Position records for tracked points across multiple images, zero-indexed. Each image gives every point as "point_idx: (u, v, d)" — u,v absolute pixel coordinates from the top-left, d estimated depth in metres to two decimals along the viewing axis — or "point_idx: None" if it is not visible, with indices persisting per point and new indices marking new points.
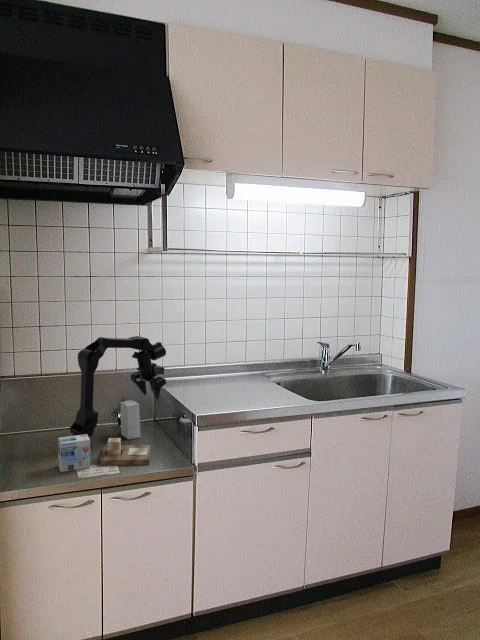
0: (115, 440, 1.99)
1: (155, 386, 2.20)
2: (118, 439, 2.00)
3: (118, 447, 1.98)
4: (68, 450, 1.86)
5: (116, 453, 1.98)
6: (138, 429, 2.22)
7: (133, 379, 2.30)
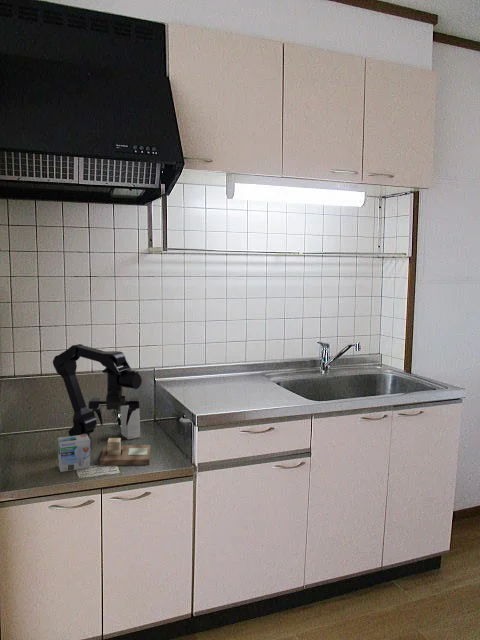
0: (115, 440, 1.99)
1: None
2: (118, 439, 2.00)
3: (118, 447, 1.98)
4: (68, 450, 1.86)
5: (116, 453, 1.98)
6: (138, 429, 2.22)
7: None
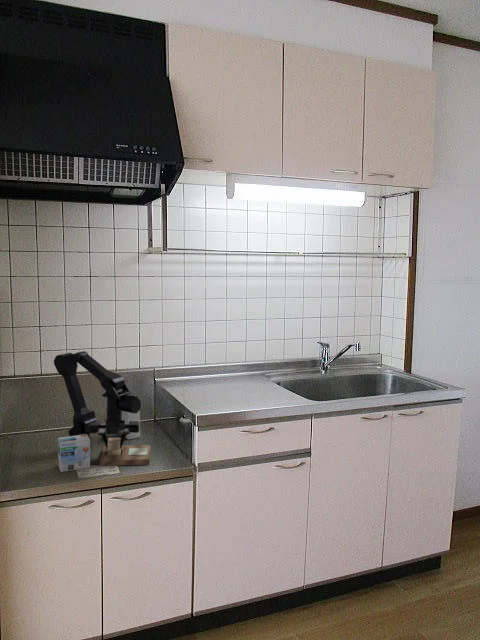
0: (115, 440, 1.99)
1: None
2: (118, 439, 2.00)
3: (118, 447, 1.98)
4: (68, 450, 1.86)
5: (116, 453, 1.98)
6: None
7: None
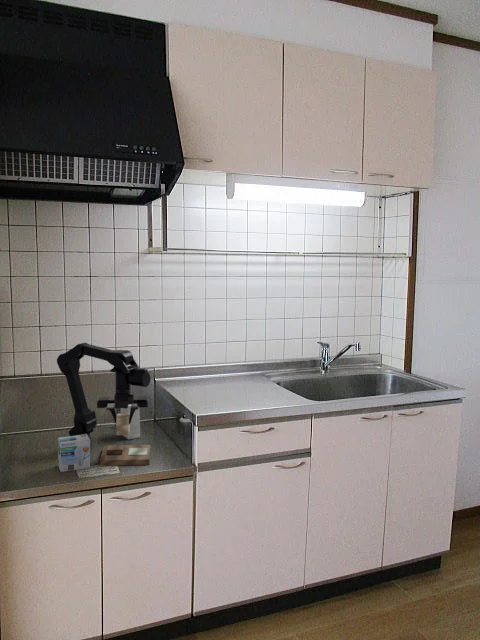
0: (124, 415, 1.98)
1: None
2: (127, 414, 1.99)
3: (127, 422, 1.97)
4: (68, 450, 1.86)
5: (125, 428, 1.97)
6: (138, 429, 2.22)
7: None
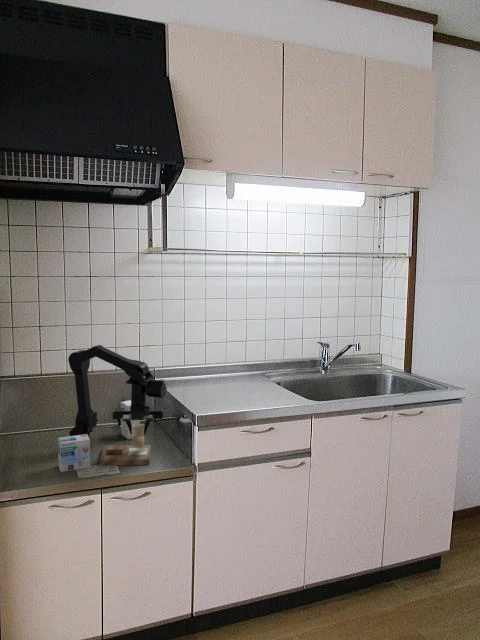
0: (139, 426, 2.00)
1: None
2: (142, 425, 2.01)
3: (142, 433, 1.98)
4: (68, 450, 1.86)
5: (140, 439, 1.99)
6: None
7: None
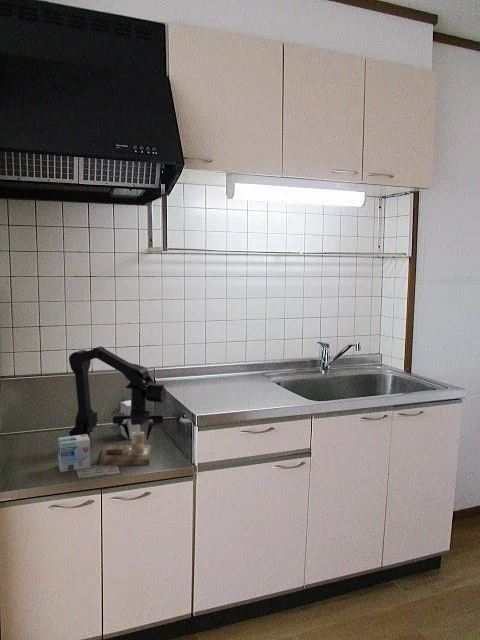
0: (139, 434, 2.00)
1: None
2: (142, 433, 2.01)
3: (142, 441, 1.99)
4: (68, 450, 1.86)
5: (140, 447, 1.99)
6: (138, 429, 2.22)
7: None
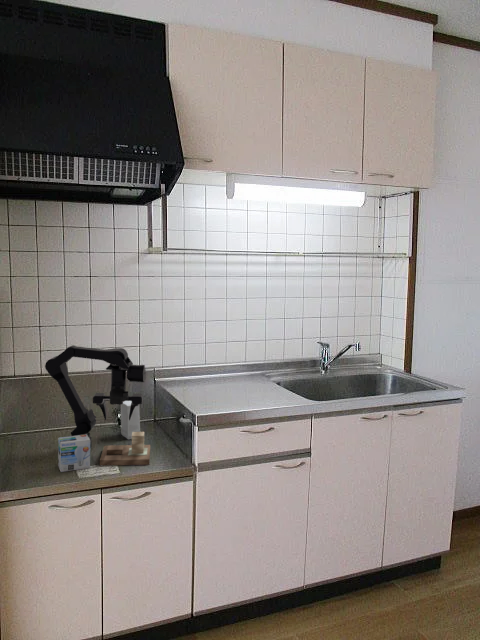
0: (139, 434, 2.00)
1: None
2: (142, 433, 2.01)
3: (142, 441, 1.99)
4: (68, 450, 1.86)
5: (140, 447, 1.99)
6: (138, 429, 2.22)
7: None
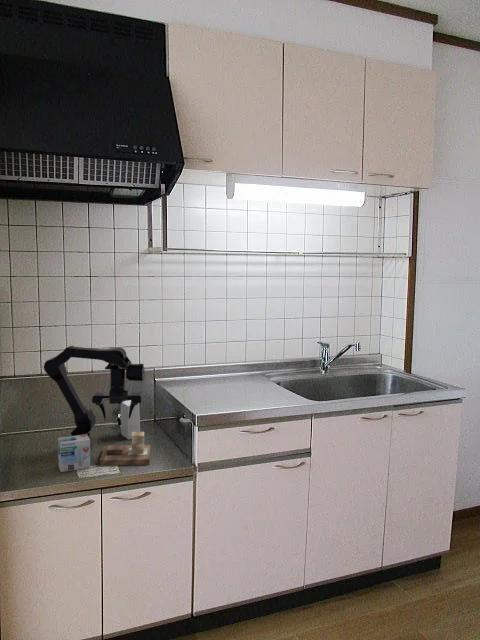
0: (139, 434, 2.00)
1: None
2: (142, 433, 2.01)
3: (142, 441, 1.99)
4: (68, 450, 1.86)
5: (140, 447, 1.99)
6: (138, 429, 2.22)
7: None
